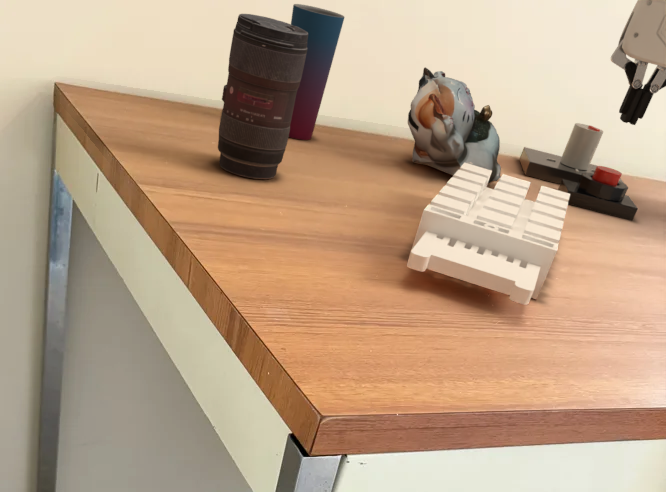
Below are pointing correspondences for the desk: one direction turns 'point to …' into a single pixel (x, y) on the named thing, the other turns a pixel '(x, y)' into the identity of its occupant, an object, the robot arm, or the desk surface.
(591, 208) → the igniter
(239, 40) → the camera lens
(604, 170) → the button
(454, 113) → the lucky cat figurine
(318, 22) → the cup
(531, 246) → the organizer
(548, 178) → the hob console
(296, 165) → the desk surface
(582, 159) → the hob knob
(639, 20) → the robot arm
